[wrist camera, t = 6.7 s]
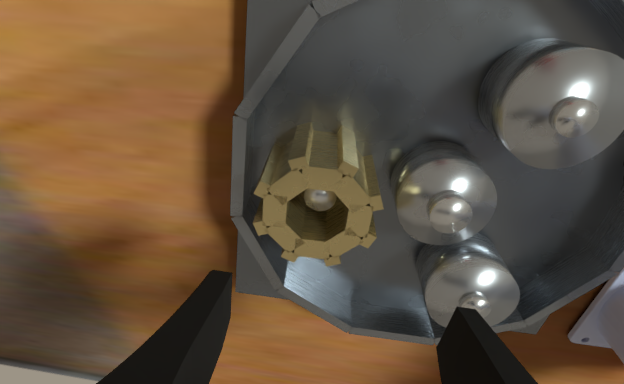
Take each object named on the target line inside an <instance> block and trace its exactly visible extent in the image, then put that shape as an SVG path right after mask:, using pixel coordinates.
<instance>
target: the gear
mask: <svg viewBox="0 0 624 384" xmlns="http://www.w3.org/2000/svg"><path fill="white" fill-rule="evenodd" d="M305 189H316V190H324V191H333V192H334V193H335V194H336V202H335V204H334V205H333V206H332V207H331V208H330V209H328V210H325V211H316V210H313V209H311V208H310V207H309V206H308V205H307V204H306V203H305V200H304V193H305ZM254 194H255V195H257V196H259V197H261V201H260V203H259V206H258V209H257V212H256V215H255V218H254V221H253V225H254V227H255V229H256V232H257V234H258V236H260V235H264V234H269V235H270V236H271V237H272V238H273V239H274V240H275V241H276V242H277V243H278V244H279V245H280V246H281V247H282V253H281V257H282V258H285V259H287V260H289V261H291V262H293V263H294V262H295V261H296V259H297V258H298V257H299V256H300V257H309V258H318V259H324V262H325V264H326V267H327V266H332V265H337V264H341V255H342V254H343V253H345V252H347V251H349V250H350V249H352V248H354V247H356V246H357V245H362V246H364V247H366V248H369V247H370V246H371V244H372V243H373V242H374V241H375V239H376V238H377V236H376V230H375V223H374V217H373V211H377V210H382V209H384V208H383V203H382V199H381V194H380V189H379V184H378V180H377V175H376V170H375V165H374V161H373V157H372V155H368V156H364V157H363V156H362V155H361V154H360V152H359V151H358V150H357V149H356V141H355V133H354V132H353V131H351V130H350V129H348V128H346V127H344V126H341V128H340V129H339V131H338V133H332V132H323V131H315V130H314V129H313V126H312V123H311V122H308V123H304V124H301V125H297V129H296V133H295V136H294V139H293V140H292V141H290V142H289V143H288V144H286V145H285V146H284V147H281V146H280V145H278V144H276V143H274V145H273V147H272V149H271V151H270V153H269V155H268V158H267V160H266V163H265V165H264V168H263V170H262V173H261V176H260V178H259V181H258V183H257V186H256V188H255V191H254Z"/></svg>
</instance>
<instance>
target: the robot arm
mask: <svg viewBox="0 0 624 384" xmlns="http://www.w3.org/2000/svg"><path fill="white" fill-rule="evenodd" d="M615 273H616V274H617V275H616V276H614V277H612V278H611V279H609V280H608V282H607V283H606V284H605V286H604V287H603V288H602V290H601V291H600V292H599V294H598V295H597V296H596V298H595V299H594V300H593V302H592V303H591V304H590V306H589V307H588V308H587V310H586V311H585V312H584V314H583V315H582V316H581V318H580V319H579V320H578V322H577V323H576V324H575V326H574V327H573V328H572V330H571V331H570V332H569V334H568V338H569V340H570V341H571V342H573V343H577V344H584V345H591V346H598V347H605V348H612V349H613V350H614V352H615V353H616V354H617V356H618V357H619V358H620V360H621V361H622V362H623V364H624V268H623V269H622V270H621V271H620V273H619V272H615ZM231 291H232V273H230V272H223V271H217V270H212V271H211V272H209V273H208V275H207V276H206V277H205V279H204V280H203V281H202V282H201V284H200V285H199V286H198V287H197V288H196V290H195V291H194V292H193V293H192V294H191V295H190V297H189V298H188V299H187V300H186V301H185V302H184V303H183V304H182V305H181V307H180V308H179V309H178V310H177V311H176V312H175V313H174V314H173V315H172V316H171V317H170V318H169V319H168V320H167V321H166V322H165V323H164V324H163V325H162V326H161V327H160V328H159V329H158V330H157V331H156V332H155V333H154V334H153V335H152V336H151V337H150V338H149V339H148V340H147V341H146V342H145V343H144V344H143V345H142V346H140V347H139V348H138V349H137V350H136V351H135V352H134V353H133V354H132V355H130V356H129V357H128V358H127V359H126V360H125V361H124V362H122V363H121V364H120V365H119V366H118V367H116V368H115V369H114V370H113V371H112V372H110V373H109V374H108V375H107V376H105V377H104V378H103V379H102V380H100V381H99V382H98V383H96V384H209V382H210V379H211V376H212V374H213V371H214V369H215V366H216V363H217V361H218V358H219V355H220V353H221V350H222V347H223V343H224V340H225V336H226V332H227V328H228V325H229V321H230V315H231ZM436 348H437V356H438V363H439V370H440V376H441V382H442V384H538V383H537V382H536V381H535V380H534V379H533V378H532V376H531V375H530V374H529V373H528V372H527V371H526V369H525V368H524V367H523V366H522V365H521V363H520V362H519V361H518V360H517V359H516V358H515V356H514V355H513V354H512V353H511V352H510V350H509V349H508V348H507V347H506V345H505V344H504V343H503V342H502V341H501V339H500V338H499V337H498V336H497V334H496V333H495V332H494V331H493V330H492V328H491V327H490V326H489V325H488V323H487V322H486V321H485V320H484V319H483V317H482V316H481V315H480V314H479V313H478V311H477V310H476V309H471V308H464V307H456V309H455V311H454V313H453V315H452V317H451V319H450V321H449V323H448V325H447V327H446V329H445V331H444V333H443V335H442V337H441V339H440V341H439V343H438V345H437V347H436Z"/></svg>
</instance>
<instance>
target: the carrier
mask: <svg viewBox="0 0 624 384" xmlns="http://www.w3.org/2000/svg"><path fill="white" fill-rule="evenodd" d="M234 113H235V114H234V115H233V134H232V171H231V207H230V216H232V217H231V219H232V221H233V222H234V224H235V226H236V227H237V229H238V243H237V267H236V291H235V292H239V293H246V294H254V295H261V296H268V297H275V298H282V299H289V300H292V301H293V302H295V303H297V304H298V305H300V306H302V307H304V308H305V309H307V310H309V311H310V312H312V313H314V314H315V315H317V316H319V317H321V318H322V319H324V320H326V321H327V322H329V323H331V324H332V325H334V326H336V327H338V328H339V329H341V330H343V331H344V332H346V333H347V332H348V331H349V334H356V335H363V336H370V337H377V338H384V339H392V340H399V341H406V342H413V343H420V344H427V345H433V344H434V342H435V345H438V343H439V341H440V339H441V337H442V335H443V333H444V331H445V329H446V327H447V325H448V323H449V321H450V319H451V317H452V315H453V313H454V311H455V309H456V307H464V308H471V309H476V310H477V311H478V313H479V314H480V315H481V316H482V317H483V319H484V320H485V321H486V322H487V323H488V325H489V326H490V327H491V328H492V330H493V331H494V332H495V333H499V332H504V331H515V332H522V333H529V334H537V332H538V331H539V329H540V328H541V326H542V325H543V323H544V322H545V321H546V319H547V318H548V316H549V315H550V314H551V313H552V312H554V311H556V310H558V309H559V308H561V307H563V306H564V305H566V304H568V303H570V302H571V301H573V300H575V299H576V298H578V297H580V296H582V295H583V294H585V293H587V292H588V291H590V290H592V289H594V288H595V287H597V286H599V285H600V284H602V283H604V282H605V281H607V280H609V279H611V278H612V277H614V276H616V275H617V274H616V273H615V272H619V273H620V271H621V270H622V269H623V268H624V0H248V2H247V26H246V50H245V74H244V98H243V100H242V102H241V103H240V105H239V106H238V108H237V109H236V111H235V112H234ZM308 122H311V123H312V126H313V129H314V130H315V131H323V132H332V133H338V131H339V129H340V128H341V126H344V127H346V128H348V129H350V130H351V131H353V132H354V133H355V141H356V149H357V150H358V151H359V152H360V154H361V155H362V156H363V157H364V156H368V155H372V157H373V161H374V165H375V170H376V175H377V180H378V184H379V189H380V194H381V199H382V203H383V208H384V209H382V210H377V211H373V217H374V223H375V230H376V236H377V238H376V239H375V241H374V242H373V243H372V244H371V246H370V247H369V248H366V247H364V246H362V245H357V246H356V247H354V248H352V249H350V250H349V251H347V252H345V253H343V254H342V255H341V264H337V265H332V266H327V267H326V264H325V262H324V259H318V258H309V257H300V256H299V257H298V258H297V259H296V261H295V262H294V263H293V262H291V261H289V260H287V259H285V258H282V257H281V253H282V247H281V246H280V245H279V244H278V243H277V242H276V241H275V240H274V239H273V238H272V237H271V236H270V235H269V234H264V235H260V236H258V234H257V232H256V229H255V227H254V225H253V221H254V218H255V215H256V212H257V209H258V206H259V203H260V201H261V197H259V196H257V195H255V194H254V191H255V188H256V186H257V183H258V181H259V178H260V176H261V173H262V170H263V168H264V165H265V163H266V160H267V158H268V155H269V153H270V151H271V149H272V147H273V145H274V143H276V144H278V145H280V146H281V147H284V146H285V145H286V144H288V143H289V142H290V141H292V140H293V139H294V136H295V133H296V129H297V125H301V124H304V123H308ZM304 200H305V203H306V204H307V205H308V206H309V207H310V208H311V209H313V210H316V211H325V210H328V209H330V208H331V207H332V206H333V205H334V204H335V202H336V194H335V193H334V192H333V191H324V190H316V189H305V193H304Z"/></svg>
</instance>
